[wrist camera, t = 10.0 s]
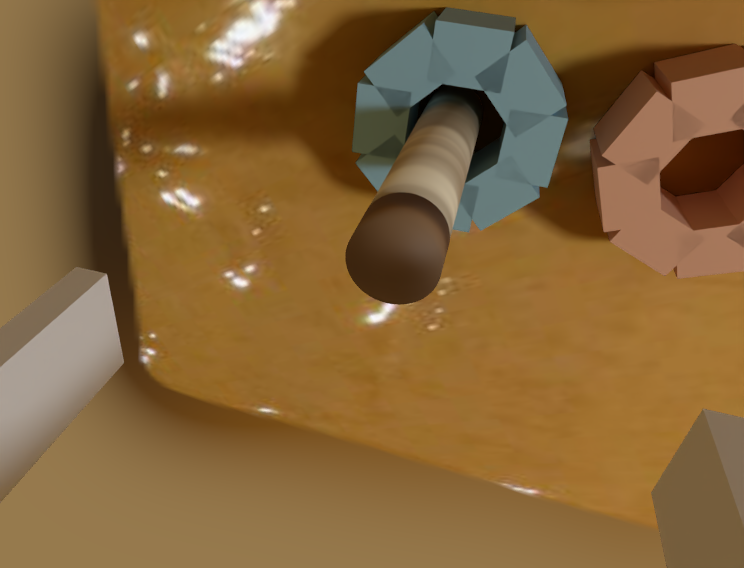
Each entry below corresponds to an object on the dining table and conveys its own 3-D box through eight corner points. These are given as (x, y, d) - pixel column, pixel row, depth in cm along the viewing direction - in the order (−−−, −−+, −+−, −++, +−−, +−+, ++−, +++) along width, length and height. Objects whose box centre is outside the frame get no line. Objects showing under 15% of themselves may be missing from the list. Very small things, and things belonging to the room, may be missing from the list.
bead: (382, -3, 29) (364, 9, 25) (583, 27, 27) (590, 43, 24) (363, 179, 34) (346, 208, 31) (530, 211, 33) (530, 244, 30)
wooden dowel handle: (431, 78, 30) (349, 210, 17) (489, 89, 30) (450, 231, 17) (422, 134, 32) (341, 292, 19) (476, 145, 31) (432, 313, 18)
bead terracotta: (583, 78, 29) (590, 100, 25) (818, 24, 25) (861, 41, 22) (600, 249, 33) (609, 286, 30) (801, 222, 30) (835, 260, 27)
